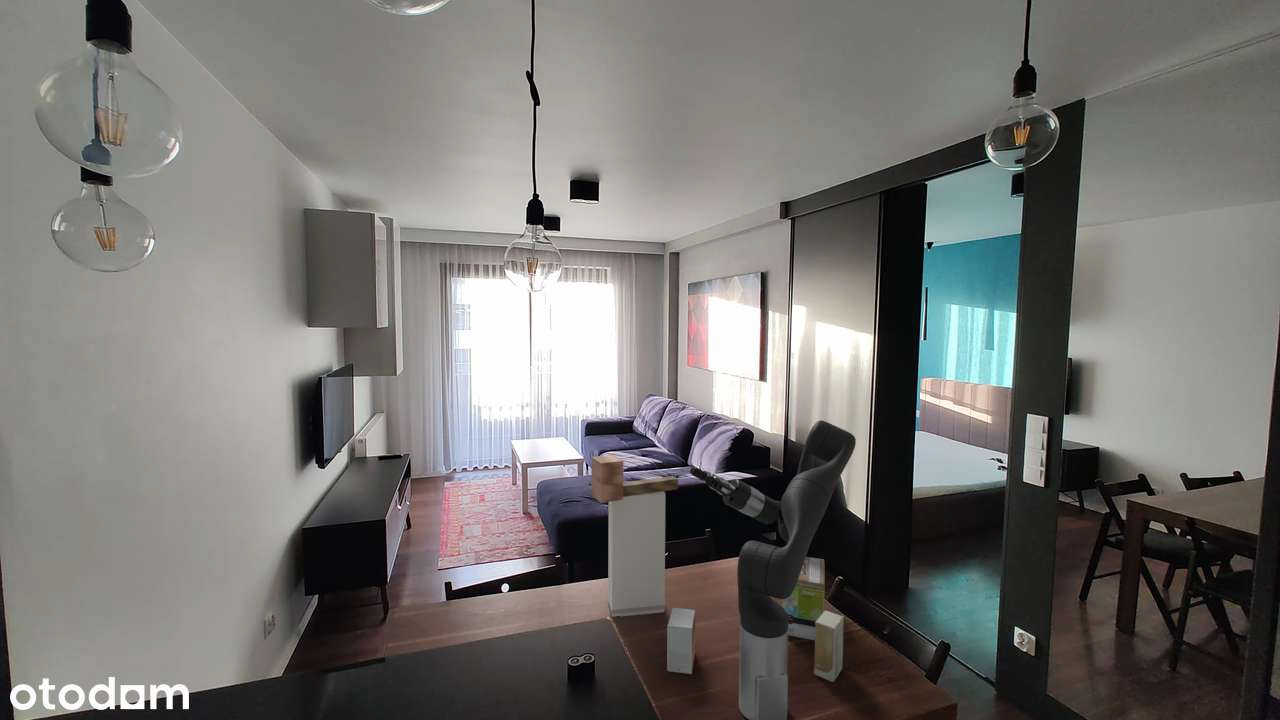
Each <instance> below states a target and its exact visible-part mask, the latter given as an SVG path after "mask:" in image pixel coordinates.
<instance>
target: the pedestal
mask: <svg viewBox="0 0 1280 720" xmlns="http://www.w3.org/2000/svg"><path fill="white" fill-rule="evenodd" d="M607 545H608V559H607V561H608V562H607V563H608V566H607V567H608V572H607V573H608V576H607V577H608V578H607V579H608V580H607V582H608V583H607V584H608V586H607V587H608V589H607V590H608V591H607V592H608V593H607V601H608V602H607V603H608V606H609V610H610V615H611V617H612V618H617V617H616V616H620V617H628V616H638V615H649V614H659V613H665V609H666V603H665V593H666V592H665V589H666V588H665V587H666V585H665V583H666V579H665V577H666V574H665V572H666V571H665V570H666V563H665V562H666V493H665V491H661V492H654V493H647V494H640V495H633V496H626V497H623V500H618V501H611V502H608V544H607ZM614 616H615V617H614Z"/></svg>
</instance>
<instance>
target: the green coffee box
mask: <svg viewBox="0 0 1280 720" xmlns="http://www.w3.org/2000/svg"><path fill="white" fill-rule="evenodd" d="M825 566H826V565H825V559H823V558H816V557H810V556H806V558H805V561H804V564H803V567H802V570H801V573H800V576H799V578H798V581H797V584H796V586H795V588H794V590H793V592H792V594H791V595H790V596H789V597H788V598H786V599H782V602H781V603H782V605H781V606H782V607H783V608H784V609H785V611H786V612H787V615H788V637H795V638H799V639H805V640H811V641H815V622H816V620H817V619H818V618H819V616H820V615H821V614H822V613H823V612H824V611H825V609H824V608H825V587H826V583H825V582H826V581H825V580H826V576H825V570H826V569H825V568H826V567H825Z"/></svg>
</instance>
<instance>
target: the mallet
mask: <svg viewBox="0 0 1280 720" xmlns="http://www.w3.org/2000/svg"><path fill="white" fill-rule="evenodd" d="M590 458H591V468H590V469H591V470H590V471H591V474H590V475H591V476H590V477H591V478H590V479H591V482H590V483H591V486H590V488H591V492H590V493H591V496H592V497H593V498H594V499H595V500H597V501H598V502H600V503H601V504H602V503H603V504H604V503H609V502H611V501H618V500H623V497H626V496H633V495H640V494H647V493H654V492H661V491H664V492H665V491H666V492H667V491H673V490H674V491H675V490H678V489H679V478H677V477H675V476H673V475H669V476H661V477H655V478H647V479H641V480H633V481H625V482H624V460H623V459H621V458H619V457H618V456H616V455H614V454H606V455H605V454H604V455H597V456H596V455H595V456H591V457H590Z"/></svg>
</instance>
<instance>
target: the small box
mask: <svg viewBox="0 0 1280 720" xmlns="http://www.w3.org/2000/svg"><path fill="white" fill-rule="evenodd" d="M666 628H667V629H666V633H667V634H666V636H667V639H666V640H667V641H666V642H667V643H666V645H667V647H666V650H667V651H666V654H667V655H666V663H667V664H666V668H667V669H666V671H667V672H670V673H671V672H672V673H679V674H680V673H681V674H689V675H693V667H694V661H695V654H696V610H695V609H689V608H688V609H687V608H679V607H671V612H670V616H669V620H668V623H667V627H666Z"/></svg>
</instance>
